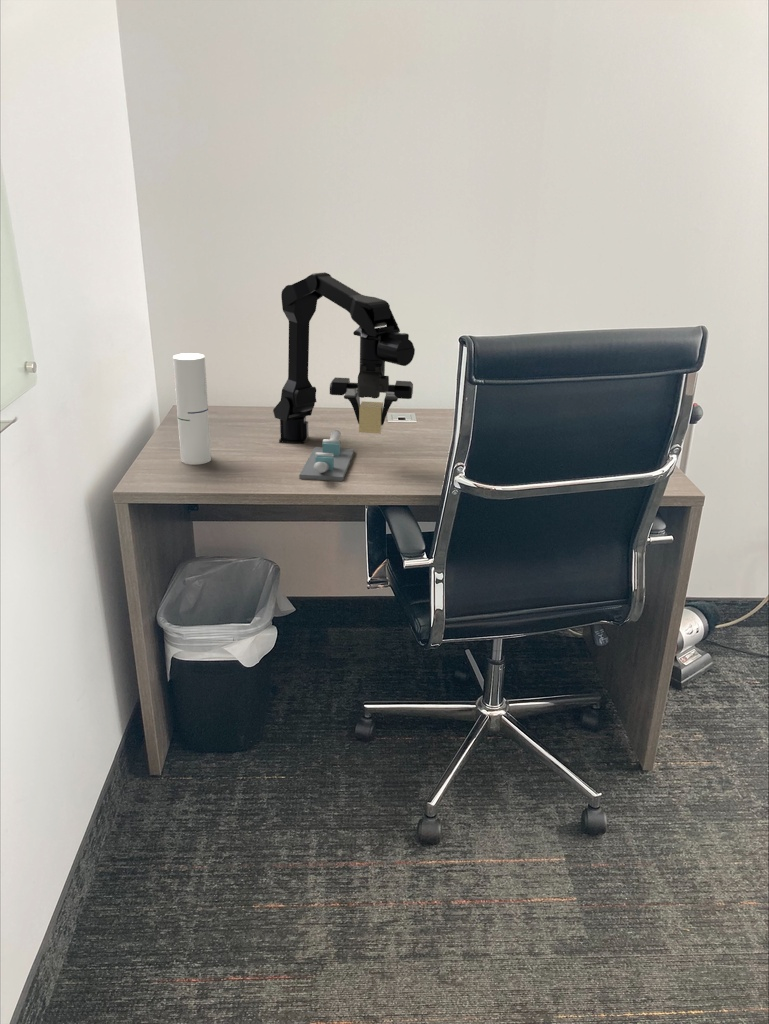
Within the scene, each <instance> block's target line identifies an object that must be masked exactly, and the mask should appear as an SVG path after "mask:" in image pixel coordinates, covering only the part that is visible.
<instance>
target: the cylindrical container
mask: <svg viewBox="0 0 769 1024" xmlns="http://www.w3.org/2000/svg"><path fill="white" fill-rule="evenodd" d="M172 364H173V376H174V378H173V379H174V389H175V401H176V414H177V415H176V416H177V427H178V437H179V451H180V452H179V453H180V461H181V462H182V464H186V465H192V466H193V465H196V466H197V465H203V464H206V463H209V462H210V461H212V451H211V450H212V447H211V435H210V432H211V431H210V420H209V418H210V417H209V404H208V403H209V401H208V389H207V388H208V387H207V374H206V373H207V372H206V358H205V354H202V353H195V352H194V353H193V352H188V353H187V352H185V353H178V354H174V355H173V356H172Z"/></svg>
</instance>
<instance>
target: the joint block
mask: <svg viewBox="0 0 769 1024" xmlns="http://www.w3.org/2000/svg"><path fill="white" fill-rule="evenodd" d="M383 406H384V401H381V402H379V401H378V402H377V401H365V400H363V401H360V407H359V424H358V433H362V434H364V433H365V434H381V432H382V431H383V426H384V424H383V425H381V422H382V412H383Z"/></svg>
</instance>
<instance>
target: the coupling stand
mask: <svg viewBox="0 0 769 1024" xmlns="http://www.w3.org/2000/svg"><path fill="white" fill-rule="evenodd" d="M341 434H342V433H341V431H340V430H339V429H332V431H331V433H330V437H329V439H327V438H326V439H324V438H323V439H322V446H320V447H319V446H315V447H314V448H313V449H312V451H311V453H310V455H309V457H308V458H307V460H306V462H305V464H304V465H303V468H302V469H301V471H300V473H299V475H298V477H299V478H298V479H299V480H314V481H315V480H318V481H333V482H334V481H335V482H336V481H337V482H343V481H344V479H345V477H346V475H345V474H347V472H348V470H349V467H350V465H351V463H352V459H353V457H354V455H355V448H342V447H341V441H340V439H341V436H342V435H341Z"/></svg>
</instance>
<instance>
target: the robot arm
mask: <svg viewBox="0 0 769 1024" xmlns="http://www.w3.org/2000/svg"><path fill="white" fill-rule="evenodd" d="M323 297H324V298H325V299H328V301H330V302H332V303H334V304H336V305H337V306H339V308H342V309H344V310H345V311H347V312H348V313H349V315H350V318H351V319H352V321H353V322H354V323H356V324H357V326H358V328H356V330H354V331H353V336H357V337H359V373H358V375H357V382H351V380H350V378H349V377H334V378H333V379H331V382H330V383H329V395H330V396H343V398H344V399H345V400H348V402H349V403H350V404H351V406H352V409H353V411H354V414H355V417H356V421H357V424H358V425H359V407H360V405H361V399H362V398H364V399H365V398H371V399H378V398H380V395H381V394H380V393H384V394H385V396H384V400H383V412H382V422H381V425H383V426H384V422H385V420H386V418H387V415H388V412H389V410H390V407H391V405H392V404H393V402H398V400H399V399H400V400H401V399H402V400H403V399H404V400H405V399H406V400H410V399H412V398H413V394H414V383H413V382H412V381H410V380H409V381H408V380H395V381H396V382H395V384H390V377H389V375H385V373H386V372H385V371H386V369H385V368H386V362H387V363H391V364H393V365H397V366H403V367H406V366H408V365H410V363H412V361H413V359H414V357H415V353H416V352H415V351H416V349H415V347H414V343H413V342H412V340H410V336H409V334H408V333H405V332H403V333H401V330H400V327H399V324H398V322H397V321H396V318H395V317H394V314H393V312H392V310H391V307H390V304H389V302H388V301H387V300H385V299H382V298H378V297H375V296H369V295H365V294H361V293H359V292H358V291H356V290H354V289H353V288H351V287H350V286H348V285H346V284H344V283H342V282H341V281H339V280H337V279H336V278H334V277H332V276H331V274H330V273H328V272H326V271H325V272H315V273H311V274H310V275H308V276H306V277H305V278H303V279H301V280H298V281H297V282H294V283H292V284H288V285H285V287H284V288H282V290H281V306H282V308H281V309H282V313H284V315H285V317H286V319H287V320H288V359H287V360H288V364H287V365H288V369H287V380H286V382H285V384H284V385H283V387H282V389H281V394H280V395H281V396H280V401H279V402H278V403H277V404H276V406H275V407H274V408H273V410H272V412H273V415H274V418H275V419H278V420H279V424H280V427H279V429H280V430H279V431H280V438H279V439H278V442H279V443H288V444H305V442H306V440H307V439H308V438H309V421H308V420H307V417H310V416H312V413H313V410H314V408H315V403H317V397H316V395H317V388H316V386H313V385H312V383H311V382H310V380H309V358H310V357H309V353H310V351H309V350H310V347H309V346H310V323H311V322H310V321H311V320H312V318H313V316H314V314H315V313H316V311H317V306H318V300H319V299H322V298H323ZM360 398H361V399H360Z"/></svg>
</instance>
